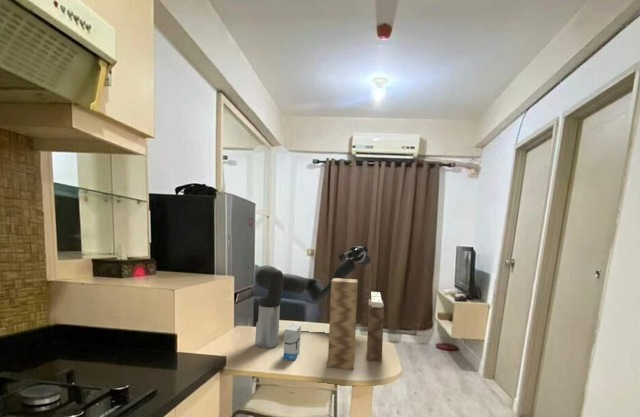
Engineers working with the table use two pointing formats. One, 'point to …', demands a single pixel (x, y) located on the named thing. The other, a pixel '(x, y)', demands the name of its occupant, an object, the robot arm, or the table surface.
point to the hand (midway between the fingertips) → (351, 252)
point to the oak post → (342, 323)
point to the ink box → (292, 342)
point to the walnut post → (375, 332)
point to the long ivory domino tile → (376, 299)
